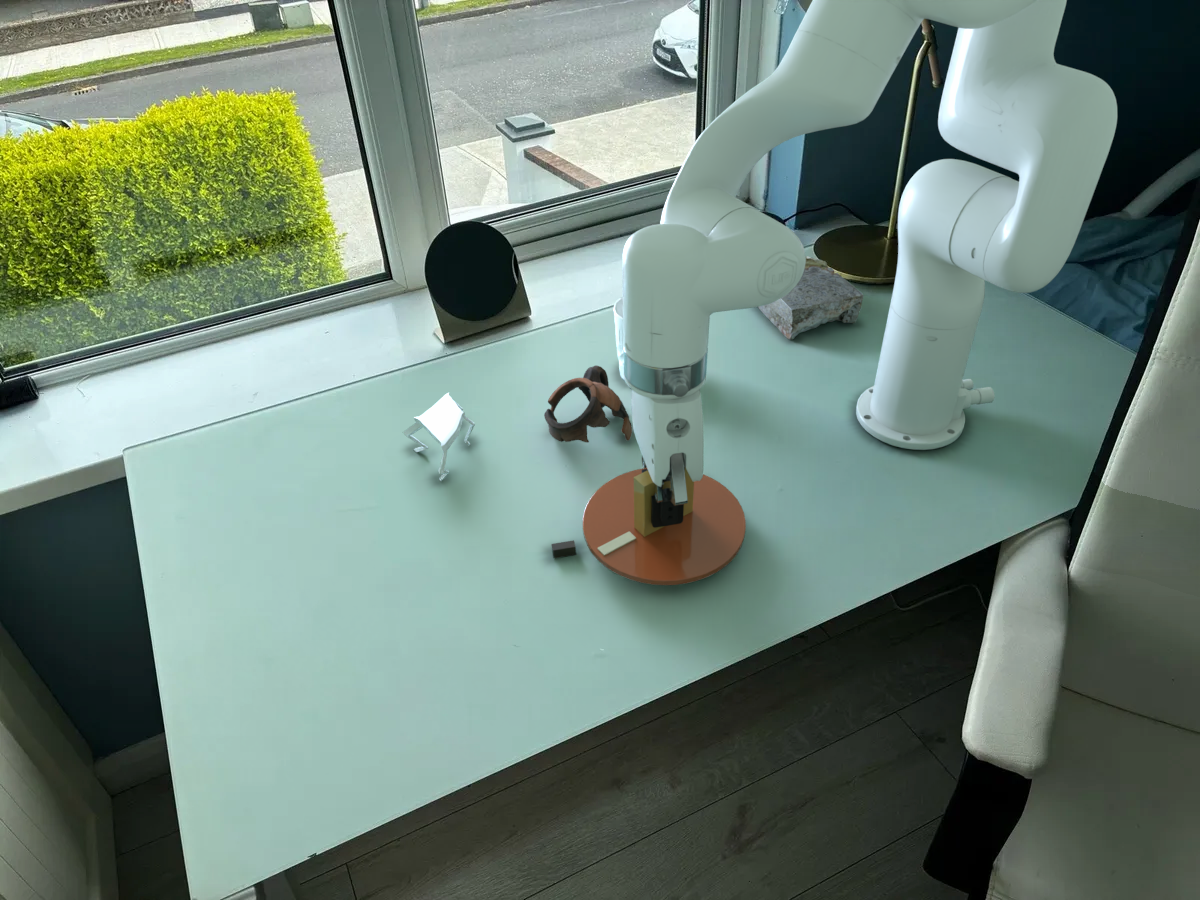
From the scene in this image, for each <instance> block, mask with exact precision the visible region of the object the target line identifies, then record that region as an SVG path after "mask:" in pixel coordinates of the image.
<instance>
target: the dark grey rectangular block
mask: <svg viewBox="0 0 1200 900" xmlns="http://www.w3.org/2000/svg"><path fill="white" fill-rule="evenodd" d="M576 547H577V546H576V543H575V540H568V541H561V542H554V543H551V552H552V558H553V559H557V558H563V557H570V556H576V555H577V549H576Z"/></svg>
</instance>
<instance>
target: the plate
mask: <svg viewBox="0 0 1200 900" xmlns="http://www.w3.org/2000/svg"><path fill="white" fill-rule="evenodd" d="M642 469H647V468H643V467H642V468H637V469H633V470H630V471H626V472H624V473H622V474H619V475H617V476H615V477H613V478H612V479H610V480H608V481H607V482H605V483H603V485H601V486H600V487H599V488H597V490H595V492H594V493H593V494H592V495H591V497H590V498H589V500H588V502H587V503H586V506H585V508H584V511H583V514H582V533H583V538H584V541H585V544H586V546H587V548H588V549H589V551H590V553H591V554H592V555H593V557H595V559H596V560H597V561H598V562H599V563H600V564H601V565H603V566H604V567H606V568H607V569H608V570H609V571H611V572H613V573H615V574H616V575H619V576H620V577H623V578H625V579H628V580H630V581H634V582H637V583H641V584H642V583H643V584H647V585H655V586H677V585H678V586H679V585H685V584H690V583H694V582H697V581H698V582H699V581H701V580H703V579H706V578H709V577H711V576H712V575H715V574H717V573H718V572H719V571H721V570H723V569H725V567H727V566H728V565H729V564H730V563H731V562H732V561H733V560H734V559H735V558H736V557H737V555H738V554H739V552H740V551H741V549H742V546H743V544H744V542H745V537H746V532H747V531H746V529H747V520H746V516H745V512H744V510H743V507H742V505H741V503H740V501H739V500H738V499H737V497H736V496H735V495H734V493H733V492H732V491H731V490H729V488H727V487H726V486H725V485H724V484H722V483H721V482H719V481H718V480H716V479H715V478H712V477H710V476H708V475H706V474H704V473H703V477H702V479H701V480H700V481H694V482H693V481H692V479H691V477H690V475H689V473H688V471H687V469H686V467H685V480H686V489H687V498H688V503H687V504H684V511H683V522H682V523H680V524H675V525H669V526H663V527H657V528H654V527H653V526H652V523H651V499H652V496H653V495H655V483H654V482H653V481H652V479H651V476H650V474H649V471H648V470H647V471H645V472H643V473H642ZM665 488H671V484H670V481H667V482H664V484H663V489H665Z"/></svg>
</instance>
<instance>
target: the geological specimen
mask: <svg viewBox="0 0 1200 900" xmlns="http://www.w3.org/2000/svg"><path fill="white" fill-rule="evenodd" d="M805 256H806V255H805ZM863 300H864V294H863V293H862V292H861V291H860V290H859V289H858V288H857V287H855V286H854V285H853V284H851V282H850V281H848V280H847V279H845V278H844V277H843V276H841V274H840V273H838V272H835V269H834V268H832V267H829V265H828V262H826V261H825V260H822V259H819V258H814V257H811V256H808V255H807V256H806V262H805V269H804V272H803V275H802V277H801V279H800V280H799V282H798V283H797V285H796V286H795V287H794V288H793V289H792V290H791V291H790V292H789V293H788V294H787V295H785V296H784V297H782V298H780V299H779V300H777V301H775V302H773V303H770V304H767V305H764V306H760V307H757V308H758V310H759V311H761V313H762V314H763V315H764V316H765V317H766V318H767V319H768V320H769V321H770V323H772V325H773V326H775V327H776V328H777V329H778V331H779V332H780V333H781V334H782V335H783V336H784V337H785V338H786V339H787V340H789V341H792V340H794V339H795V337H796V336H798V335H799V334H800V333H805V332H807V331H809V330H814V329H816V328H817V327H819V326H820V325H822V324H823V325H825V324H826V323H833V322H835V321H839V322H842V323H844V324H847V323H849V324H856V322H857V320H858V317H859V314H860V312H861V310H862V304H863Z"/></svg>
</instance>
